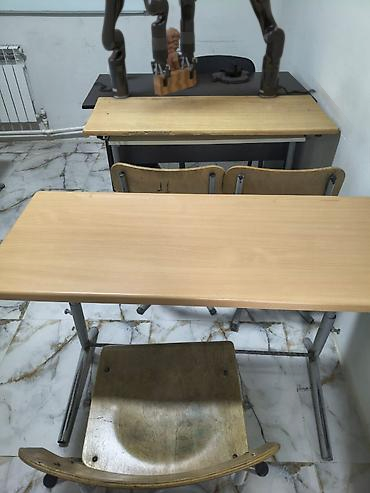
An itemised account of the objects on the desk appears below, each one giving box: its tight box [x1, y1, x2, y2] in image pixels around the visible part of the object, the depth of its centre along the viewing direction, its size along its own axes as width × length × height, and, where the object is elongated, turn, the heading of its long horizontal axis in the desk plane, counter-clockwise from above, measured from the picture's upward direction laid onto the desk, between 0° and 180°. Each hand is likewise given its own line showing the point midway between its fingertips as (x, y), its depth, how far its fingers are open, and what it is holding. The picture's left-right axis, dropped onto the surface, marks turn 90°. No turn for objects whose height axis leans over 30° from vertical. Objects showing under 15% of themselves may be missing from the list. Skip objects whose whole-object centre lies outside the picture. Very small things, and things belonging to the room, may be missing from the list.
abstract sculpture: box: [211, 60, 250, 85], centre depth 224 cm, size 25×9×20 cm
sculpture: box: [166, 27, 198, 83], centre depth 214 cm, size 27×24×30 cm
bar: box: [153, 66, 197, 97], centre depth 184 cm, size 24×5×8 cm, turn 131°
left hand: (162, 85), depth 180 cm, fingers closed on bar, 5 cm apart
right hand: (188, 77), depth 189 cm, fingers closed on bar, 5 cm apart
